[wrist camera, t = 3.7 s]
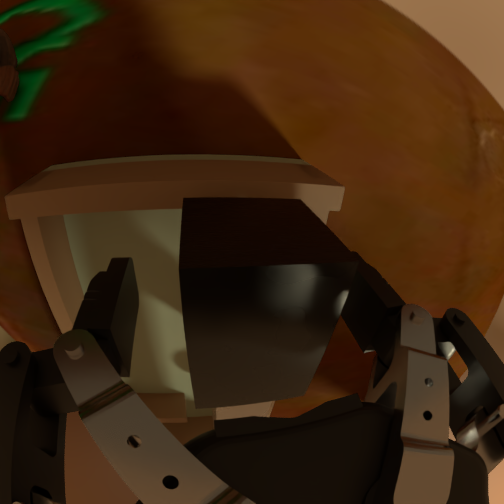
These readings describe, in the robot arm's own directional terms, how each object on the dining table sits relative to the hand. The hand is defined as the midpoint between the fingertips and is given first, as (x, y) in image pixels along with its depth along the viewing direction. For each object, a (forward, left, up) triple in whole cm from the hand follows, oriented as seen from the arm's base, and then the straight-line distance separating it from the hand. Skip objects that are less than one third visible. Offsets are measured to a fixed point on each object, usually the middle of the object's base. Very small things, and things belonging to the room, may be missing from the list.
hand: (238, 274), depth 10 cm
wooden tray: (+3, +12, -8) cm, 15 cm away
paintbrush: (0, +13, -5) cm, 14 cm away
